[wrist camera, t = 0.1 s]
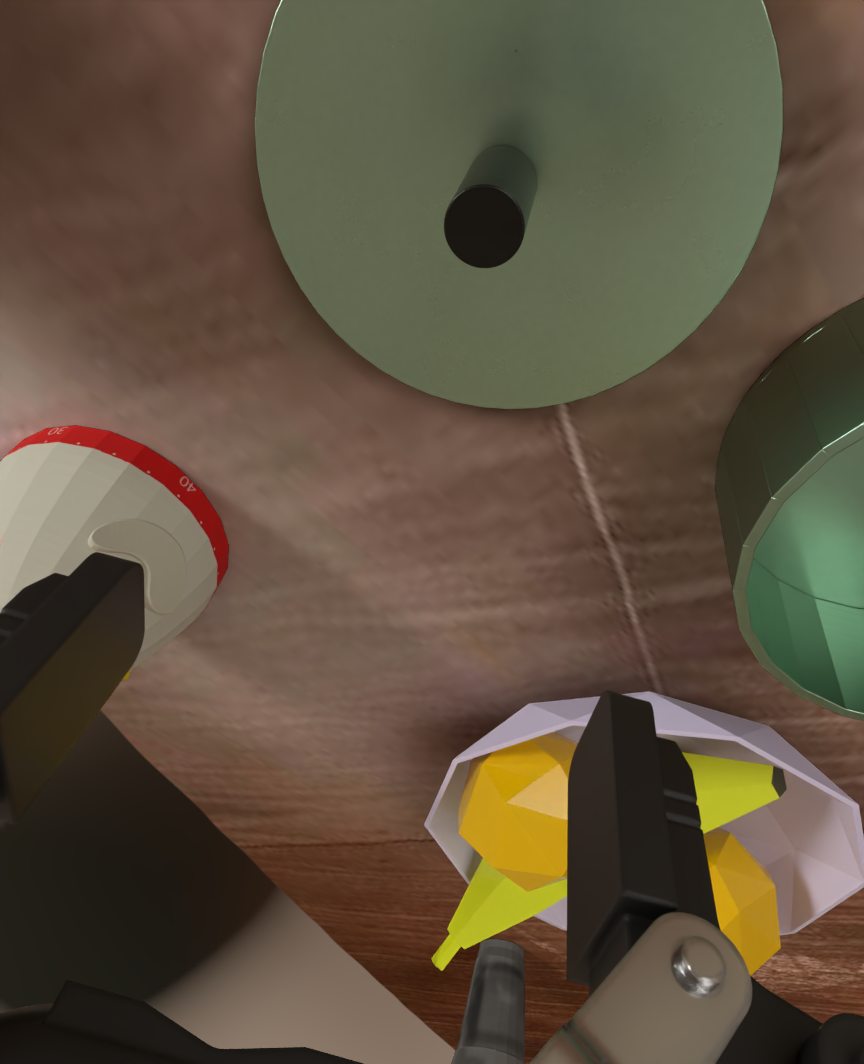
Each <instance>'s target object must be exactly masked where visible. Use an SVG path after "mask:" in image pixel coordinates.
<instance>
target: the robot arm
mask: <svg viewBox="0 0 864 1064" xmlns="http://www.w3.org/2000/svg"><path fill="white" fill-rule="evenodd" d="M144 633H145V605H144V570H143V567H142V565H141V564H140V563H137V562H133V561H130V560H126V559H122V558H118V557H115V556H111V555H107V554H103V553H100V552H95V553H92V554H91V555H89V556H88V557H87V558H86V559H85V560H84V561H83V562H82V563H81V564H80V565H79V566H78V567H77V568H76V569H75V570H74V571H73V572H72V573H71V574H70V575H69V576H66V575H62V574H59V573H53V574H51V575H49V576H47V577H45V578H43V579H41V580H39V581H37V582H35V583H33V584H31V585H29V586H27V587H25V588H23V589H22V590H21V591H20V592H19V593H18V594H17V595H16V596H15V597H14V598H13V599H12V600H11V601H10V602H8V603H7V604H6V605H5V606H4V607H3V608H2V611H1V613H0V820H1V821H5V822H8V823H12V824H16V823H17V822H18V821H19V819H20V818H21V817H22V815H23V814H24V813H25V811H26V810H27V808H28V807H29V806H30V804H31V803H32V802H33V800H34V799H35V798H36V796H37V795H38V793H39V792H40V791H41V789H42V788H43V787H44V785H45V784H46V782H47V781H48V780H49V779H50V777H51V776H52V774H53V773H54V772H55V770H56V769H57V767H58V766H59V765H60V763H61V762H62V761H63V759H64V758H65V757H66V755H67V754H68V753H69V751H70V750H71V749H72V747H73V746H74V745H75V743H76V742H77V740H78V739H79V738H80V736H81V735H82V734H83V732H84V731H85V730H86V728H87V727H88V725H89V724H90V723H91V721H92V720H93V719H94V717H95V716H96V715H97V713H98V712H99V711H100V709H101V708H102V706H103V705H104V704H105V702H106V701H107V700H108V698H109V697H110V696H111V694H112V693H113V691H114V690H115V689H116V687H117V686H118V685H119V683H120V682H121V681H122V679H123V678H124V677H125V675H126V674H127V672H128V671H129V670H130V668H131V667H132V665H133V664H134V662H135V661H136V659H137V657H138V654H139V652H140V649H141V647H142V643H143V639H144ZM696 802H697V795H696V789H695V783H694V777H693V771H692V769H691V767H690V765H689V764H688V762H687V760H686V759H685V757H684V755H683V753H682V752H681V750H680V748H679V747H678V745H677V743H676V742H675V741H672V740H668V739H664V738H661V737H657V736H656V728H655V720H654V712H653V707H652V704H651V703H650V702H649V701H645V700H641V699H637V698H634V697H630V696H626V695H622V694H619V693H615V692H611V691H608V690H606V691H604V692H603V693H602V695H601V697H600V698H599V700H598V703H597V705H596V707H595V709H594V711H593V713H592V715H591V717H590V719H589V721H588V723H587V726H586V728H585V730H584V732H583V734H582V736H581V738H580V740H579V742H578V744H577V747H576V749H575V751H574V754H573V758H572V761H571V766H570V771H569V777H568V829H567V981H570V982H574V983H577V984H581V985H585V986H588V987H589V999H588V1000H587V1001H586V1002H585V1003H584V1005H583V1006H582V1007H581V1008H580V1009H579V1010H578V1012H577V1013H576V1014H575V1015H574V1016H573V1017H572V1019H571V1020H570V1021H569V1022H568V1023H565V1024H564V1025H563V1026H562V1027H561V1028H560V1029H559V1030H558V1031H557V1032H556V1033H555V1034H554V1036H553V1037H552V1038H551V1039H550V1040H549V1041H548V1042H547V1044H546V1045H545V1046H544V1047H543V1048H542V1050H541V1051H540V1052H539V1053H538V1054H537V1055H536V1057H535V1058H534V1059H533V1060H532V1061H531V1062H530V1064H864V1017H863V1016H860V1015H856V1014H847V1013H843V1014H838V1015H835V1016H833V1017H831V1018H829V1019H828V1020H827V1021H826V1022H825V1023H824V1024H822V1023H820V1022H819V1021H817V1020H815V1019H814V1018H812V1017H811V1016H809V1015H807V1014H806V1013H804V1012H803V1011H801V1010H799V1009H798V1008H796V1007H794V1006H793V1005H791V1004H790V1003H788V1002H786V1001H785V1000H783V999H781V998H780V997H778V996H777V995H775V994H773V993H772V992H770V991H769V990H767V989H766V988H765V987H763V986H762V985H761V984H759V983H758V982H757V981H756V980H755V979H754V978H752V977H751V976H750V974H749V971H748V968H747V966H746V963H745V961H744V959H743V957H742V956H741V954H740V952H739V951H738V949H737V948H736V947H735V945H734V944H733V943H732V941H731V940H730V939H729V938H728V937H727V936H726V935H725V934H724V933H723V932H722V931H721V929H720V926H719V922H718V917H717V911H716V906H715V900H714V894H713V888H712V882H711V876H710V870H709V865H708V859H707V853H706V847H705V841H704V835H703V830H702V829H701V828H700V827H701V818H700V812H699V806H698V805H696ZM0 1064H363V1063H359V1062H356V1061H352V1060H349V1059H345V1058H342V1057H338V1056H335V1055H331V1054H328V1053H324V1052H320V1051H317V1050H313V1049H310V1048H306V1047H294V1048H259V1049H258V1048H256V1049H255V1048H254V1049H218V1048H214V1047H212V1046H210V1045H208V1044H207V1043H205V1042H204V1041H202V1040H200V1039H199V1038H197V1037H196V1036H195V1035H193V1034H192V1033H190V1032H189V1031H187V1030H186V1029H184V1028H183V1027H181V1026H180V1025H178V1024H177V1023H175V1022H174V1021H172V1020H171V1019H169V1018H168V1017H166V1016H164V1015H163V1014H162V1013H160V1012H159V1011H157V1010H156V1009H154V1008H153V1007H151V1006H150V1005H148V1004H147V1003H145V1002H143V1001H140V1000H136V999H133V998H129V997H126V996H122V995H118V994H115V993H111V992H108V991H105V990H101V989H97V988H94V987H90V986H87V985H83V984H80V983H76V982H73V981H69V980H66V982H65V984H64V986H63V988H62V989H61V991H60V993H59V995H58V997H57V999H56V1001H55V1002H54V1004H41V1005H34V1006H28V1007H21V1008H17V1009H14V1010H10V1011H7V1012H3V1013H0Z"/></svg>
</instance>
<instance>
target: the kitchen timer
mask: <svg viewBox="0 0 864 1064" xmlns="http://www.w3.org/2000/svg"><path fill="white" fill-rule="evenodd" d="M95 552H100V553H103V554H107V555H111V556H115V557H118V558H122V559H126V560H130V561H133V562H137V563H140V564H141V565H142V567H143V570H144V605H145V633H144V639H143V643H142V647H141V649H140V652H139V654H138V657H137V659H136V661H135V662H134V664H133V665H132V667H131V668H130V670H129V671H128V672H127V674H126V675H125V677H124V678H123V679H122V680H126V679H128V677H129V674H130V671H131V670H132V669H134V668H135V667H137V666H138V665H140V664H141V663H143V662H144V661H145V660H147V659H148V658H149V657H151V656H152V655H153V654H155V653H156V652H157V651H159V650H160V649H161V648H162V647H164V646H165V645H166V644H167V643H169V642H170V641H171V640H172V639H174V638H175V637H176V636H177V635H178V634H180V633H181V632H182V631H183V630H184V629H186V628H187V627H188V626H189V625H190V624H191V623H192V622H193V621H194V620H195V619H196V618H197V617H198V616H199V615H200V614H201V613H202V611H203V610H204V609H205V607H206V606H207V605H208V603H209V601H210V600H211V598H212V596H213V595H214V593H215V591H216V589H217V588H218V586H219V584H220V582H221V580H222V578H223V576H224V574H225V572H226V570H227V569H228V553H229V544H228V541H227V538H226V535H225V531H224V528H223V525H222V522H221V519H220V517H219V516H218V514H217V513H216V511H215V510H214V508H213V507H212V505H211V504H210V502H209V501H208V499H207V498H206V496H205V494H204V493H203V492H202V491H201V490H200V489H199V488H198V487H197V486H196V485H195V484H194V483H193V482H192V481H191V480H190V479H189V478H188V477H187V476H186V475H185V474H184V473H183V472H182V471H181V470H180V469H179V468H178V467H177V466H175V465H174V464H172V463H171V462H169V461H168V460H166V459H165V458H163V457H161V456H160V455H158V454H157V453H155V452H154V451H152V450H151V449H149V448H148V447H146V446H145V445H142V444H140V443H137V442H135V441H132V440H130V439H128V438H125V437H123V436H120V435H118V434H115V433H113V432H110V431H105V430H99V429H94V428H88V427H82V426H77V425H75V426H65V427H54V428H46V429H44V430H42V431H40V432H38V433H36V434H34V435H32V436H30V437H28V438H26V439H24V440H23V441H22V442H21V443H19V444H18V445H17V446H16V447H15V448H14V449H13V450H12V451H11V452H9V453H8V454H7V455H6V456H5V457H4V458H3V460H2V461H1V462H0V613H1V611H2V608H3V607H4V606H5V605H6V604H7V603H8V602H10V601H11V600H12V599H13V598H14V597H15V596H16V595H17V594H18V593H19V592H20V591H21V590H22V589H23V588H25V587H27V586H29V585H31V584H33V583H35V582H37V581H39V580H41V579H43V578H45V577H47V576H49V575H51V574H53V573H59V574H62V575H66V576H69V575H70V574H71V573H72V572H73V571H74V570H75V569H76V568H77V567H78V566H79V565H80V564H81V563H82V562H83V561H84V560H85V559H86V558H87V557H88V556H89V555H91V554H92V553H95Z"/></svg>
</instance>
